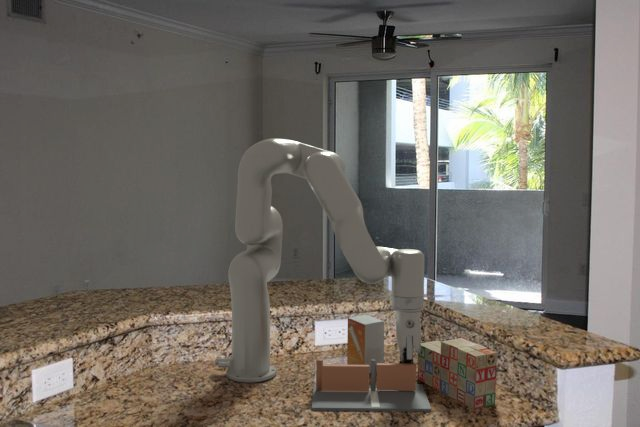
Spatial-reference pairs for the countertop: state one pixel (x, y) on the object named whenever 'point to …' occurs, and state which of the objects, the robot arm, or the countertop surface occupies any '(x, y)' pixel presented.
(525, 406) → the countertop surface
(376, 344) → the small box
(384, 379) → the hinged fence panel
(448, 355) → the stack of blocks
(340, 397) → the board
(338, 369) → the fixed fence panel
